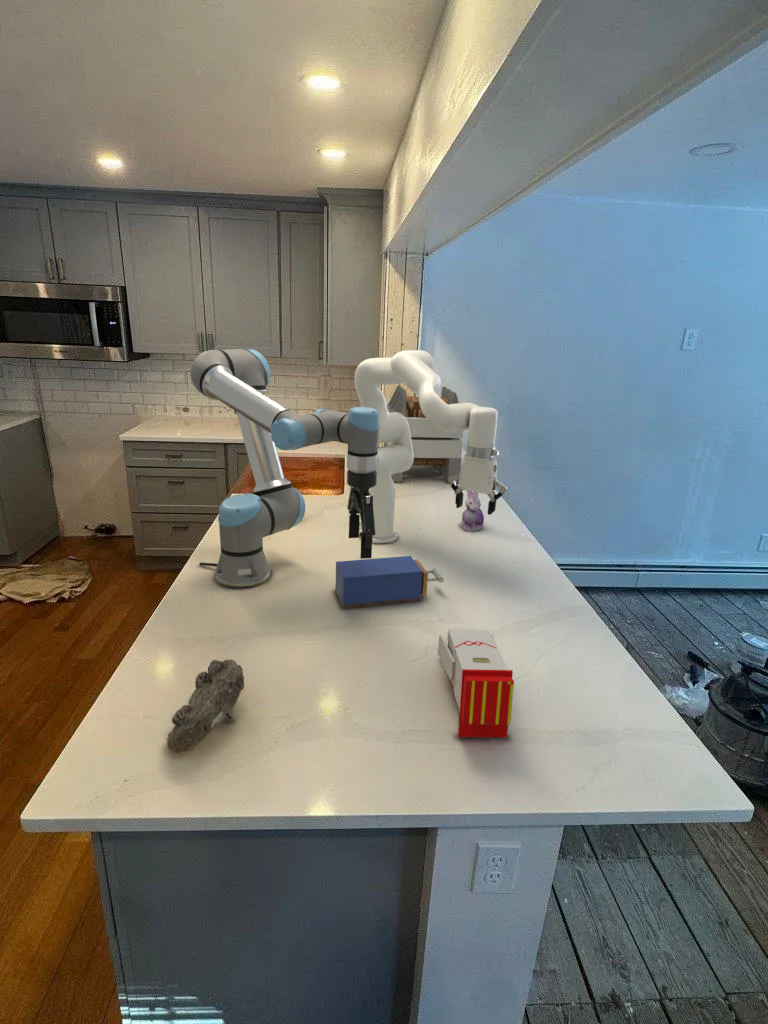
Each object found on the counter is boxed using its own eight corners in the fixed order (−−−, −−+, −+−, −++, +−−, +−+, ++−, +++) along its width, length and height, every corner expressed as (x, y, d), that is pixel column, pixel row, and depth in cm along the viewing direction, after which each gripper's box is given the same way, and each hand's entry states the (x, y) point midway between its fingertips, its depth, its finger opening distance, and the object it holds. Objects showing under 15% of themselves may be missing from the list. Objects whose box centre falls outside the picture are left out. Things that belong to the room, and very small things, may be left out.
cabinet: (408, 584, 164) (410, 555, 161) (420, 600, 155) (422, 571, 152) (335, 590, 158) (335, 561, 155) (342, 608, 149) (343, 578, 146)
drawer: (433, 579, 165) (435, 557, 163) (444, 594, 157) (447, 571, 154) (346, 587, 158) (347, 564, 156) (354, 603, 150) (354, 579, 148)
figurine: (469, 533, 203) (473, 493, 198) (453, 523, 211) (457, 485, 206) (490, 530, 207) (495, 490, 202) (474, 520, 215) (478, 482, 210)
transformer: (382, 463, 289) (386, 382, 275) (445, 464, 293) (451, 384, 279) (390, 482, 257) (394, 392, 243) (460, 483, 261) (468, 394, 247)
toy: (488, 613, 130) (523, 677, 101) (484, 667, 133) (517, 744, 104) (435, 612, 130) (455, 676, 101) (432, 666, 133) (451, 743, 103)
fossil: (192, 660, 117) (244, 628, 112) (224, 691, 120) (276, 661, 115) (142, 746, 98) (202, 712, 93) (182, 779, 101) (242, 748, 96)
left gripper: (390, 483, 133) (386, 566, 140) (364, 457, 155) (362, 529, 162) (359, 485, 131) (356, 568, 138) (337, 457, 153) (336, 530, 160)
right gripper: (514, 454, 157) (507, 512, 163) (457, 445, 165) (452, 501, 171) (505, 459, 151) (498, 519, 157) (446, 450, 159) (442, 507, 165)
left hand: (359, 547), depth 150 cm, fingers open, 13 cm apart
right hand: (474, 510), depth 164 cm, fingers open, 9 cm apart
